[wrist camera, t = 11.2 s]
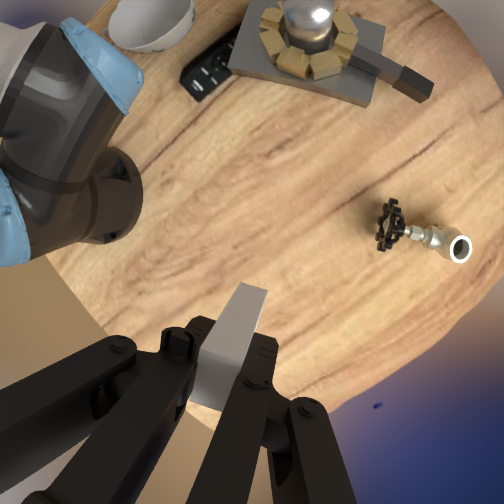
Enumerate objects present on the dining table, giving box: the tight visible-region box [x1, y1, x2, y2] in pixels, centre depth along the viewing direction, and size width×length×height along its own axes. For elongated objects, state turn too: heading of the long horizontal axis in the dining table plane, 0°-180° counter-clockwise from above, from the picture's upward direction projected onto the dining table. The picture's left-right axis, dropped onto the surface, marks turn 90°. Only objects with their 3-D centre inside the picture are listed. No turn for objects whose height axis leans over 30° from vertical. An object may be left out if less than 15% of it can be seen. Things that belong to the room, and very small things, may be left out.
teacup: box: [102, 0, 196, 54], centre depth 31 cm, size 15×12×8 cm
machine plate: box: [227, 0, 386, 108], centre depth 26 cm, size 18×12×13 cm, turn 75°
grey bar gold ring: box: [259, 1, 434, 103], centre depth 27 cm, size 11×21×4 cm, turn 66°
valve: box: [375, 198, 472, 264], centre depth 33 cm, size 7×7×12 cm
